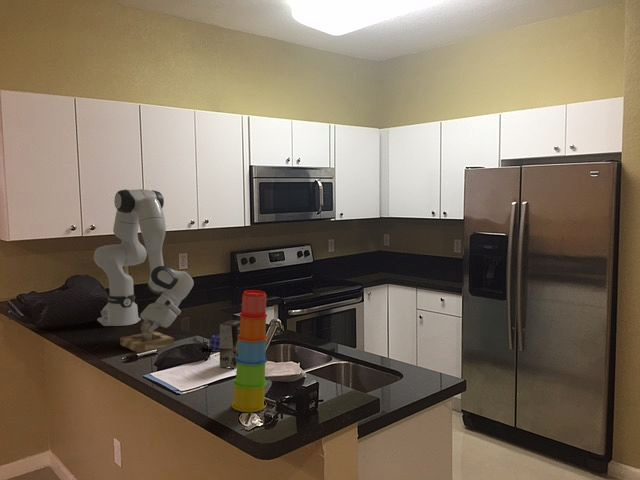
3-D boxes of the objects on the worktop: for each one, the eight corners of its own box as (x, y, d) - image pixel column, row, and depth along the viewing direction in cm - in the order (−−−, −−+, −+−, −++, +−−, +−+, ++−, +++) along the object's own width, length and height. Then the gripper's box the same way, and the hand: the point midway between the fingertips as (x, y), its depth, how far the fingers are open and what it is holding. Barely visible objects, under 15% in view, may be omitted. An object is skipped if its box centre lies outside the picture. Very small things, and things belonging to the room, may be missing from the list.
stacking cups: (250, 397, 166) (250, 287, 164) (273, 405, 160) (273, 291, 157) (224, 406, 159) (224, 291, 156) (247, 416, 152) (247, 295, 149)
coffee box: (234, 369, 193) (234, 325, 192) (219, 367, 195) (218, 324, 194) (246, 362, 202) (246, 320, 201) (231, 360, 204) (230, 318, 203)
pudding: (238, 347, 224) (238, 334, 223) (220, 354, 213) (220, 341, 213) (216, 343, 229) (216, 331, 229) (197, 350, 219) (197, 337, 219)
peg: (140, 341, 225) (139, 322, 224) (149, 339, 228) (148, 321, 227) (144, 343, 222) (144, 324, 221) (153, 341, 225) (153, 322, 224)
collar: (120, 344, 225) (120, 337, 225) (155, 337, 236) (155, 331, 236) (138, 352, 213) (137, 345, 213) (174, 345, 225) (173, 338, 225)
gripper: (149, 297, 236) (128, 322, 229) (173, 303, 221) (152, 331, 215) (159, 305, 239) (138, 330, 233) (183, 312, 225) (162, 339, 219)
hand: (145, 331), depth 224 cm, fingers closed on peg, 4 cm apart
